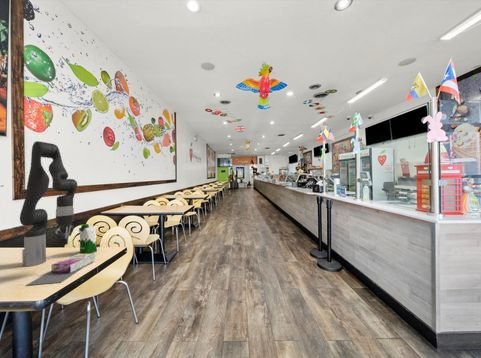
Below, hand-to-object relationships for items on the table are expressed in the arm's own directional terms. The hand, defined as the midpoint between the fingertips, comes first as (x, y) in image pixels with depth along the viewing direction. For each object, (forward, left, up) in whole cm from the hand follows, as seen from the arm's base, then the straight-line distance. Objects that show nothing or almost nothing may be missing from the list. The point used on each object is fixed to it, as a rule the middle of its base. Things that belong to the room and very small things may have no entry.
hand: (64, 244), depth 111 cm
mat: (+1, -6, -14) cm, 15 cm away
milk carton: (-4, +29, -14) cm, 33 cm away
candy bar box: (+1, -5, -11) cm, 13 cm away
